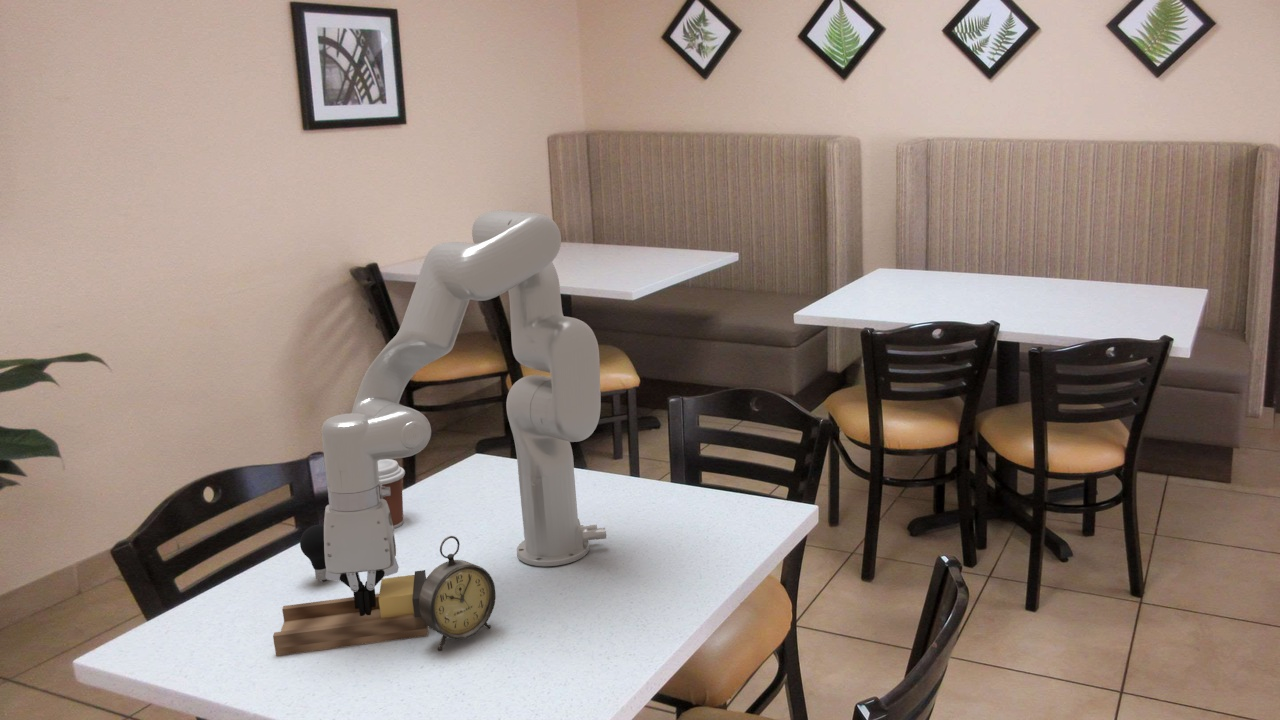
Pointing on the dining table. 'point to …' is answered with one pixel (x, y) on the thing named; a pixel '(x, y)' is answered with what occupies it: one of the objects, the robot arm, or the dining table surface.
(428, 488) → the dining table surface
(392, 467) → the coffee cup
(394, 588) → the block
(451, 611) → the alarm clock
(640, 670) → the dining table surface
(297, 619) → the wooden tray
